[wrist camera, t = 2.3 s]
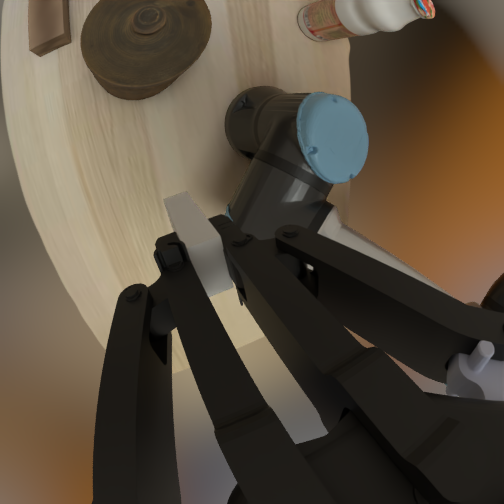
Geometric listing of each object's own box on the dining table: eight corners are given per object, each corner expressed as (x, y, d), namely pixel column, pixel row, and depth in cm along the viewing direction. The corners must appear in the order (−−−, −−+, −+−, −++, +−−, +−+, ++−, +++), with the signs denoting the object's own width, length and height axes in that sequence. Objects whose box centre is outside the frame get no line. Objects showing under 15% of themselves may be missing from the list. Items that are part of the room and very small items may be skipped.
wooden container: (190, 27, 33) (237, -25, 16) (173, 102, 39) (208, 92, 22) (107, 22, 26) (97, -38, 9) (89, 100, 33) (55, 88, 15)
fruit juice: (287, 16, 37) (401, -17, 15) (314, 0, 36) (422, -26, 14) (314, 49, 43) (431, 40, 21) (338, 31, 42) (447, 22, 20)
